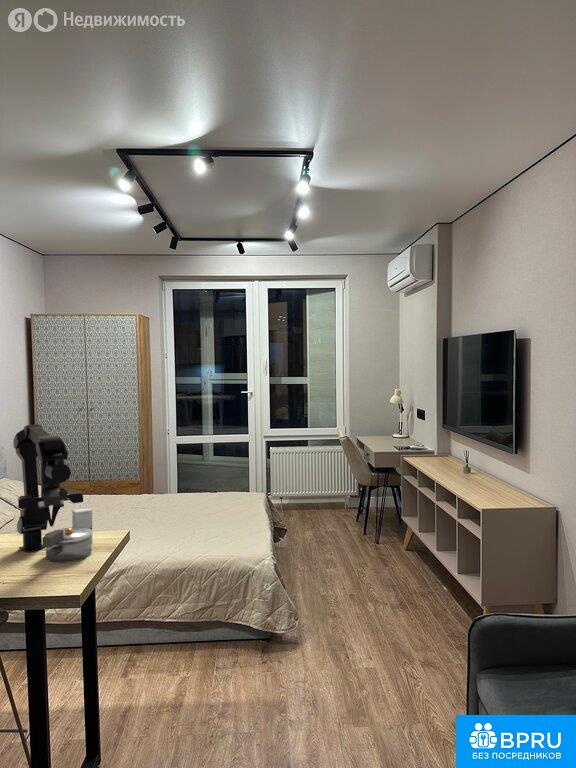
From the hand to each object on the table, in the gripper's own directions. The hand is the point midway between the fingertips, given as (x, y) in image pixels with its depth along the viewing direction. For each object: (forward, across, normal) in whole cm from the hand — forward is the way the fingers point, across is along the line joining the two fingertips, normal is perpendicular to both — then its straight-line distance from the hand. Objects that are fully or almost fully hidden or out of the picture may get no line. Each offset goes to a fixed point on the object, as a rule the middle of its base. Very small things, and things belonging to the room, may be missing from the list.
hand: (51, 526), depth 180 cm
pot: (+13, +4, +5) cm, 14 cm away
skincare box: (+13, +11, +18) cm, 25 cm away
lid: (+6, +4, +5) cm, 9 cm away
